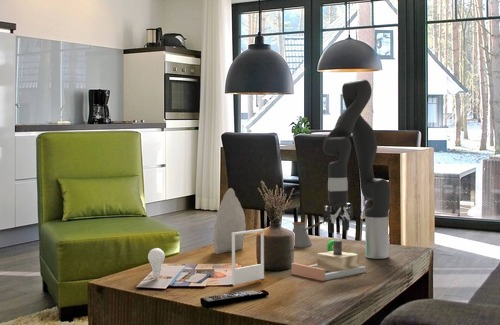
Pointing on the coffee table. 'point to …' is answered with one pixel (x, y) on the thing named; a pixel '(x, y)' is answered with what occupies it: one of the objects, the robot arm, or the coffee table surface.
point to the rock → (229, 224)
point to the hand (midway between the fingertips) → (338, 231)
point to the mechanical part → (330, 244)
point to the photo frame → (249, 271)
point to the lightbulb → (156, 260)
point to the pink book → (323, 272)
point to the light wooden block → (337, 259)
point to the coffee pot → (303, 234)
